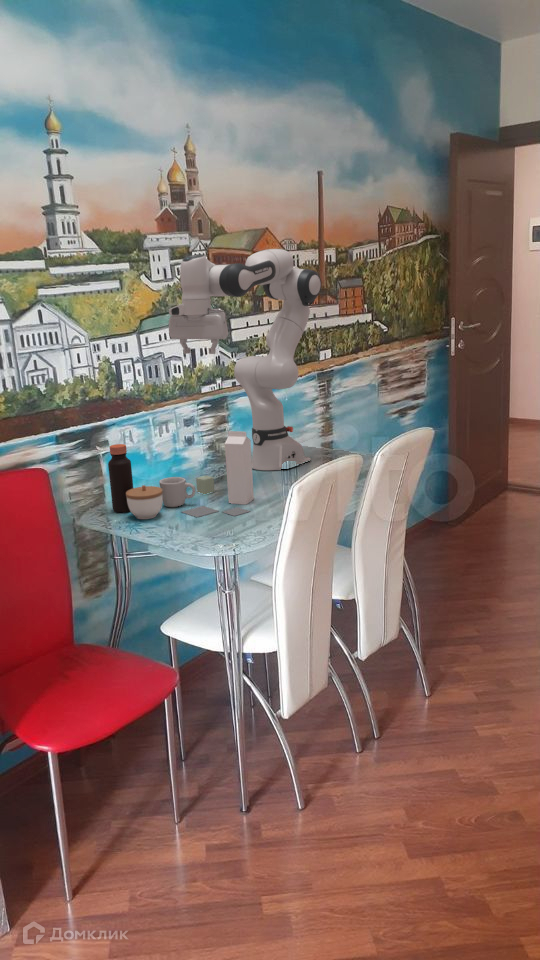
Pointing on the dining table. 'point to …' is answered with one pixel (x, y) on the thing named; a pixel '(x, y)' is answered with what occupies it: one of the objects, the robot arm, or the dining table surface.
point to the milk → (239, 468)
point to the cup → (175, 491)
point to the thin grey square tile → (200, 511)
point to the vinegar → (120, 477)
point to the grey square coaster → (236, 511)
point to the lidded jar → (145, 501)
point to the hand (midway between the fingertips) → (199, 353)
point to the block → (205, 484)
